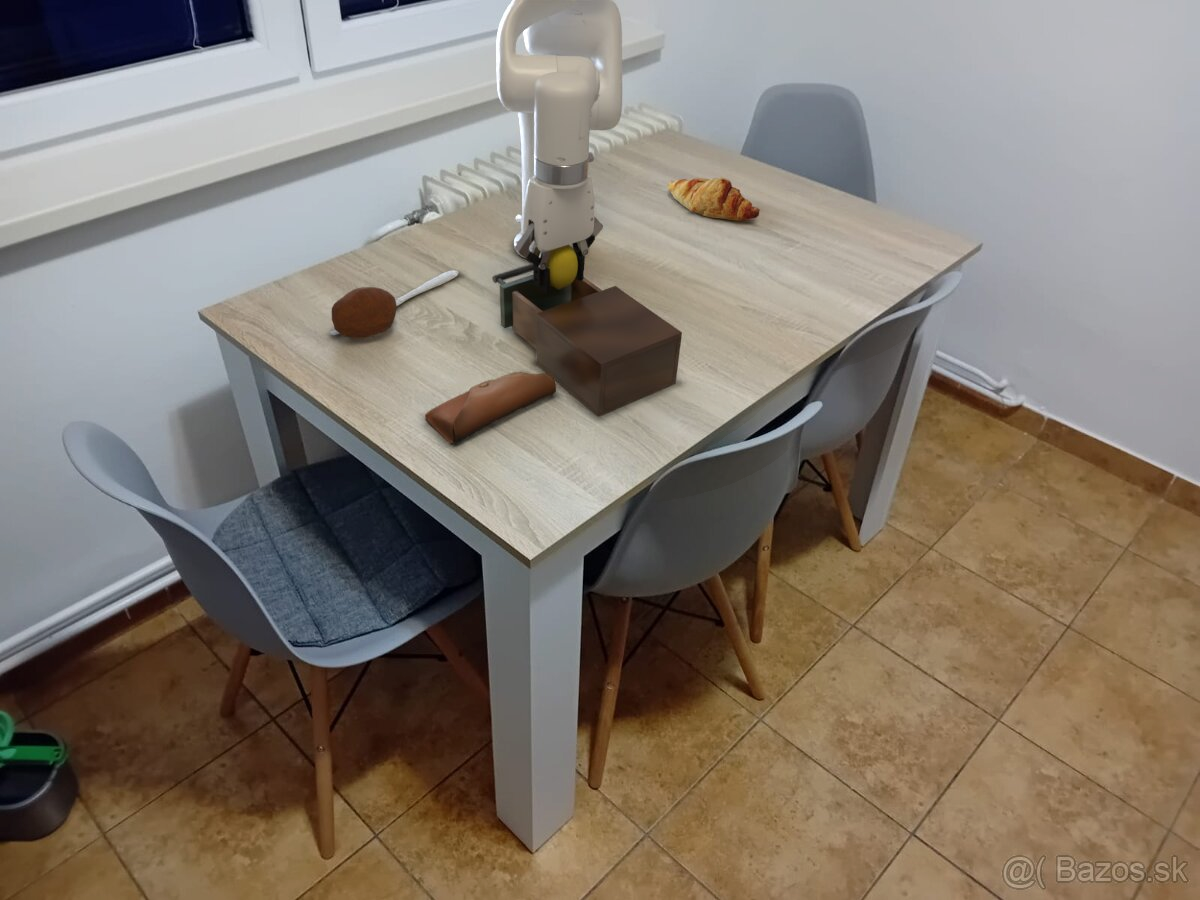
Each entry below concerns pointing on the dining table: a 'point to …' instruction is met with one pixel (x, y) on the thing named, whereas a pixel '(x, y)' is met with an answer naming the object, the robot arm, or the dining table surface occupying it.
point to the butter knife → (422, 288)
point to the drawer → (533, 300)
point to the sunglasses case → (488, 404)
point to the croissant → (713, 198)
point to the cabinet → (607, 349)
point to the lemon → (562, 266)
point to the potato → (364, 312)
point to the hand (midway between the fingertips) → (558, 281)
